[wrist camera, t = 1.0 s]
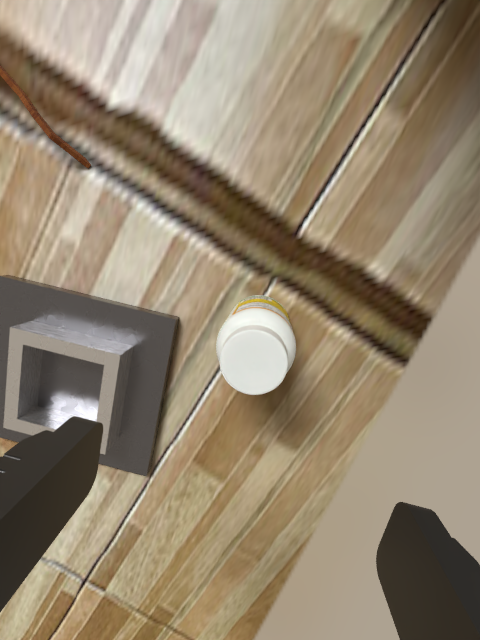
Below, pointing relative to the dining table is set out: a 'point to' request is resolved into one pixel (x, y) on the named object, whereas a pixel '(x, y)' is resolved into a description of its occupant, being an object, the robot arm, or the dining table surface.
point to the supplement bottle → (256, 345)
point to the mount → (83, 367)
